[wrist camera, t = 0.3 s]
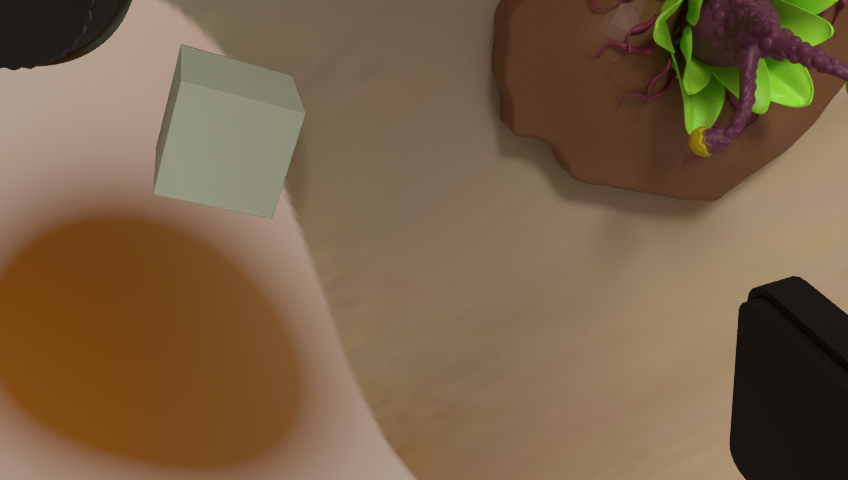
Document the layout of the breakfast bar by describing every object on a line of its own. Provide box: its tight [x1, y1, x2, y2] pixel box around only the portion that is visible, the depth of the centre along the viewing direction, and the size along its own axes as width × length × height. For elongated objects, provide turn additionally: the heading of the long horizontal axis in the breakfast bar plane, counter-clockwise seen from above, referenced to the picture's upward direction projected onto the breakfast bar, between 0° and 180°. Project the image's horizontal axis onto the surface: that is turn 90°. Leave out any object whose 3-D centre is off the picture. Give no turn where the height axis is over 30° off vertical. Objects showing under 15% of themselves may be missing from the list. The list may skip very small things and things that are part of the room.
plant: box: [492, 0, 848, 200], centre depth 36 cm, size 20×20×11 cm
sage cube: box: [153, 45, 306, 219], centre depth 35 cm, size 5×5×5 cm
